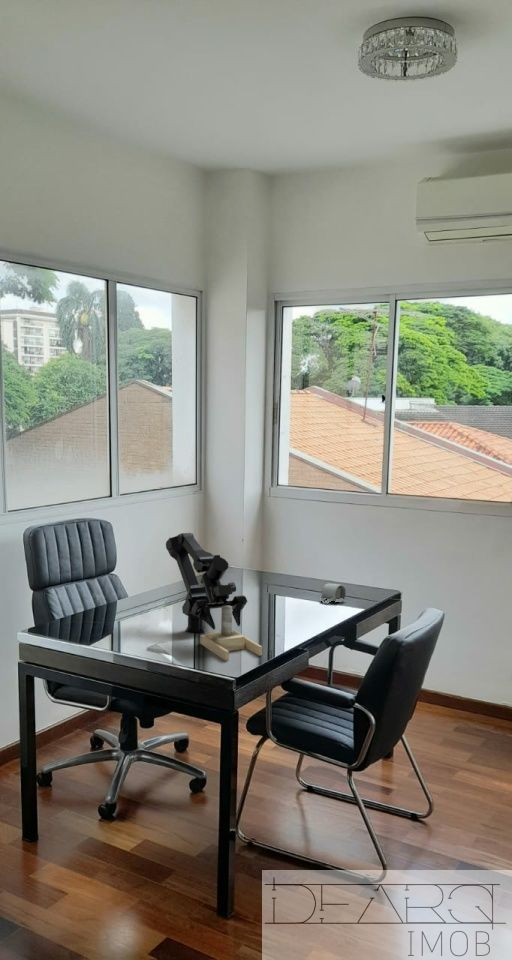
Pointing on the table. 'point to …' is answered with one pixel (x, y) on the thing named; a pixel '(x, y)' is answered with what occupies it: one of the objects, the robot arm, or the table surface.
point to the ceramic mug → (333, 592)
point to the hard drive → (158, 648)
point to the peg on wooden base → (227, 632)
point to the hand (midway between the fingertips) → (227, 627)
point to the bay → (225, 653)
